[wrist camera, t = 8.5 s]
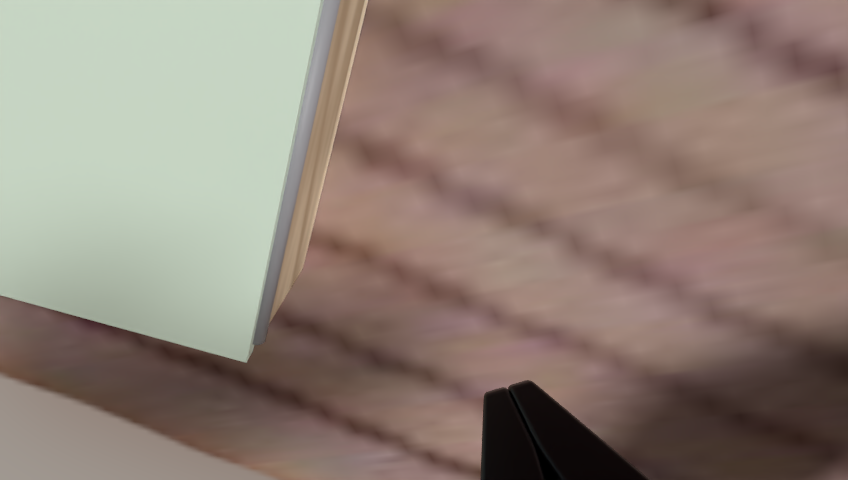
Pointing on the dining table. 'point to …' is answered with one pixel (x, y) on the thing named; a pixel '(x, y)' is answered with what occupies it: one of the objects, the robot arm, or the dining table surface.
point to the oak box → (321, 142)
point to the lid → (156, 159)
